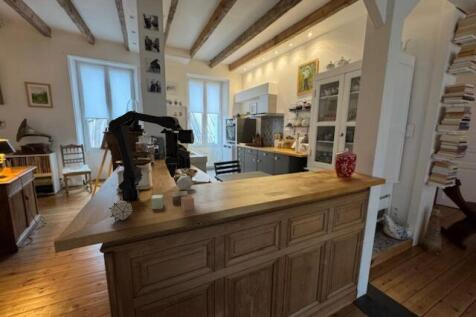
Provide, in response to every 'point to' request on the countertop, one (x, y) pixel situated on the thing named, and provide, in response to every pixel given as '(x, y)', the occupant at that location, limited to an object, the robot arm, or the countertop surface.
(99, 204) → the countertop surface
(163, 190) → the countertop surface
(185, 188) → the die
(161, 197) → the sage block
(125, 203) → the game die
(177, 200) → the walnut base
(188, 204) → the terracotta block
